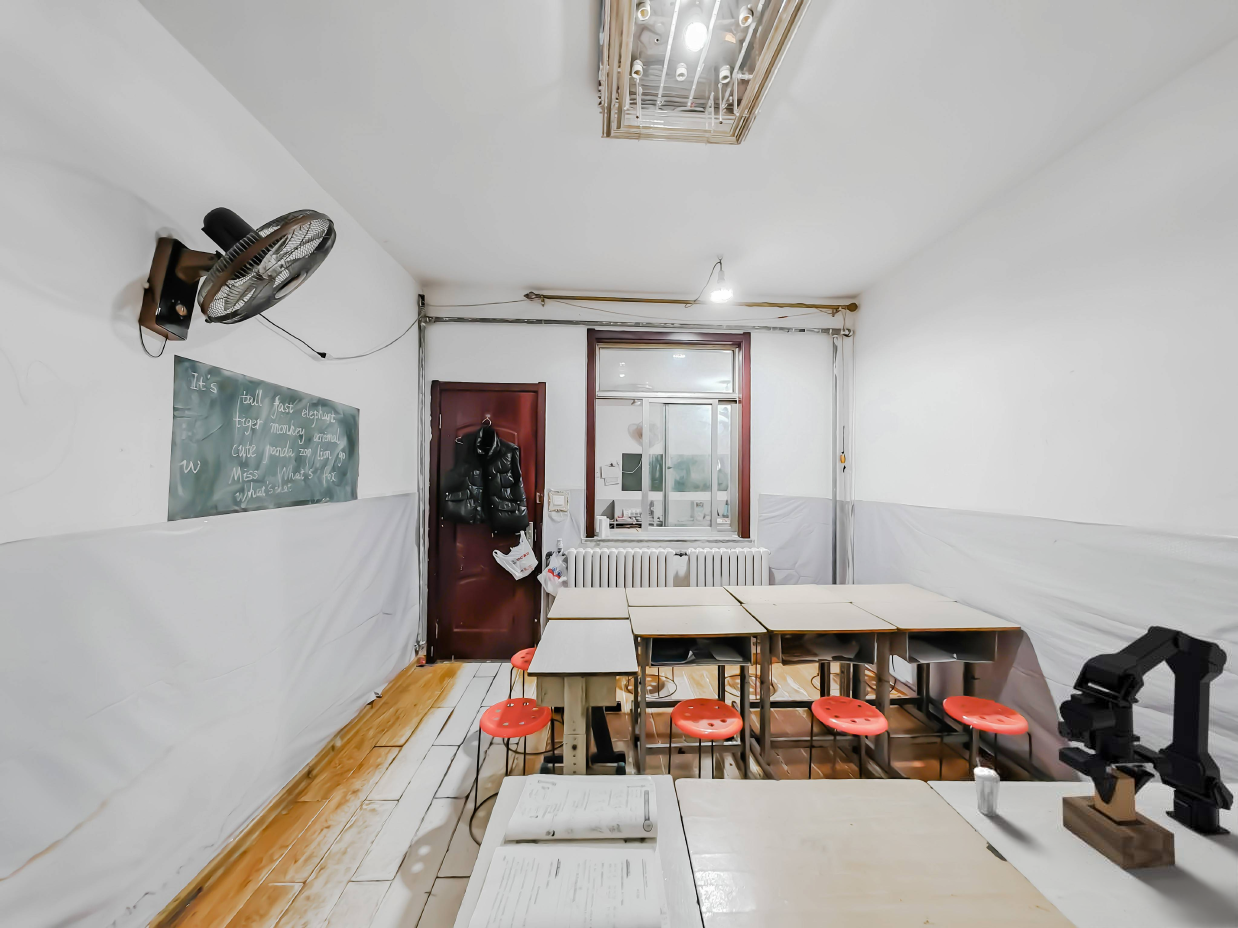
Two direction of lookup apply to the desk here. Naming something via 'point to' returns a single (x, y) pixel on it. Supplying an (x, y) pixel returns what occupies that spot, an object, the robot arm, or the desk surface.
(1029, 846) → the desk surface
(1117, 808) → the peg
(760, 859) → the desk surface
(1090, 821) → the socket
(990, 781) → the milkshake
